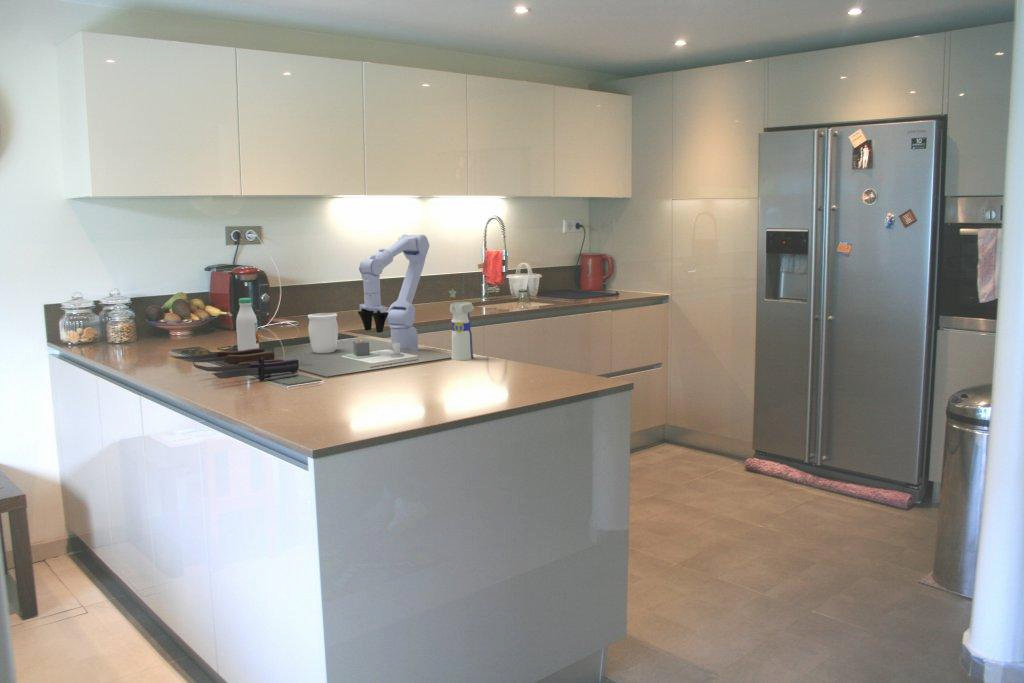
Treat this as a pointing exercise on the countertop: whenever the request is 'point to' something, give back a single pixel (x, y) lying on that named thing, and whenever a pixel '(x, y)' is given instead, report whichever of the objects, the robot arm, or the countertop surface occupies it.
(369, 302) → the robot arm
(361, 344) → the gray handled box
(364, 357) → the pad
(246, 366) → the knife set
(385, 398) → the countertop surface
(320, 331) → the jar
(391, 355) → the mount board
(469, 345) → the white spray bottle
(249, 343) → the milk bottle
